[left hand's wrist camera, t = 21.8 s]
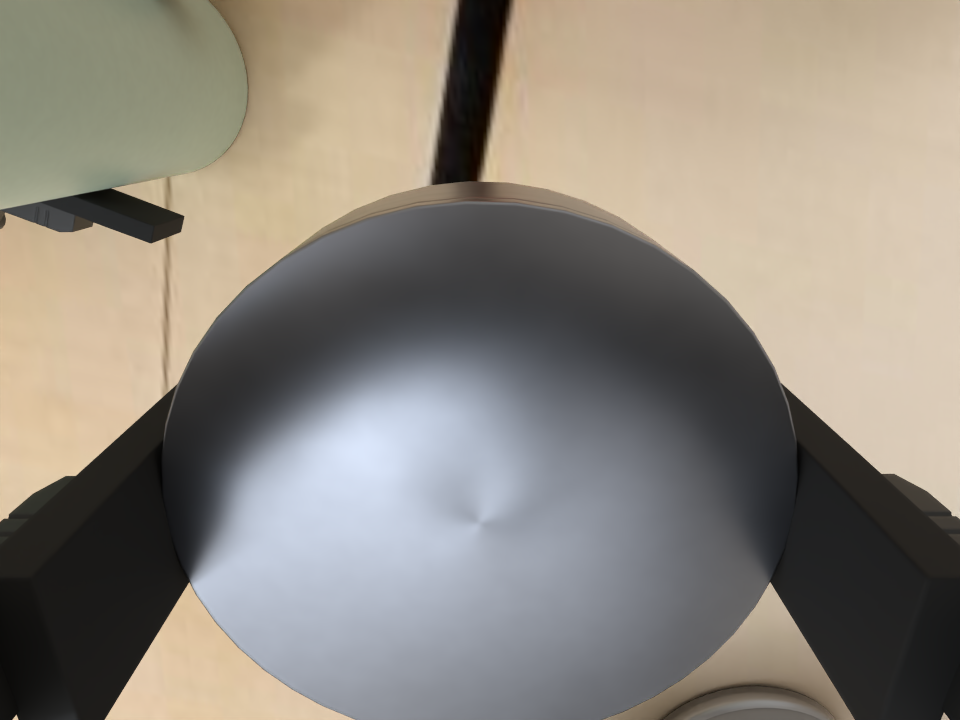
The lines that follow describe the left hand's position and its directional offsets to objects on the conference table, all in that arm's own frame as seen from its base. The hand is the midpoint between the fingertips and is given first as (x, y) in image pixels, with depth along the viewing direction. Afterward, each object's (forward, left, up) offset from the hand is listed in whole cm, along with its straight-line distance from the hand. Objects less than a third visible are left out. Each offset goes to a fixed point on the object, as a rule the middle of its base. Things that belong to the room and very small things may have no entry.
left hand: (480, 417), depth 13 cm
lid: (0, 0, +3) cm, 3 cm away
